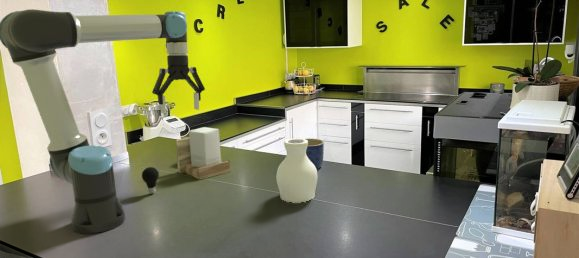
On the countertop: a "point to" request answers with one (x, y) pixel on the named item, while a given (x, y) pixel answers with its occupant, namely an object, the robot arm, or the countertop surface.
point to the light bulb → (150, 178)
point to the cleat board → (196, 172)
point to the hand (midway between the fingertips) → (180, 111)
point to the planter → (315, 151)
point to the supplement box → (204, 147)
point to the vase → (296, 173)
